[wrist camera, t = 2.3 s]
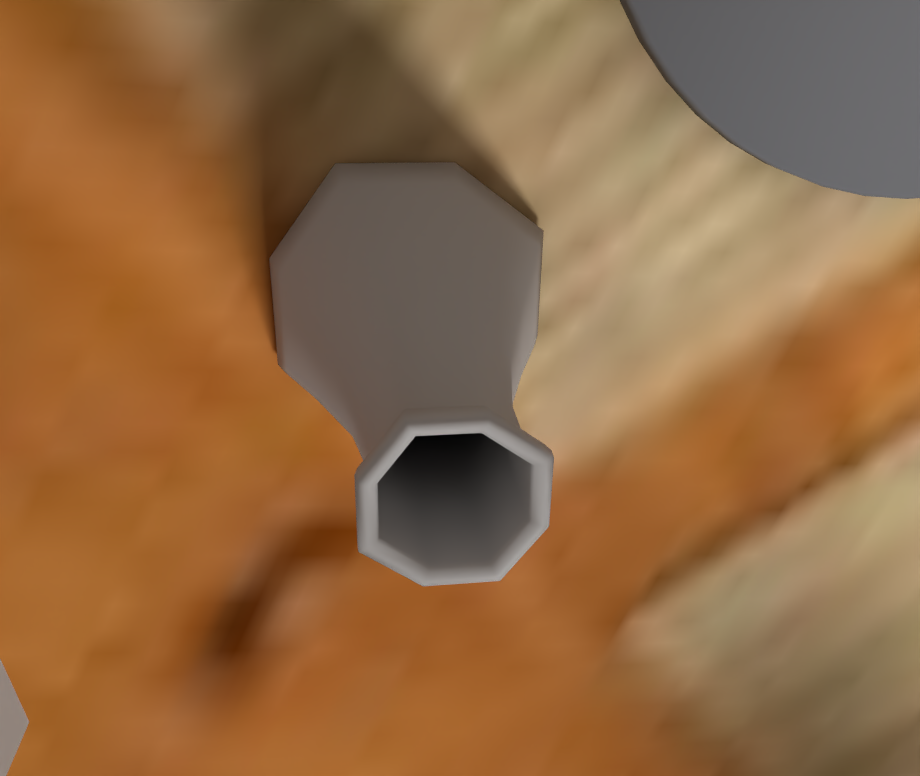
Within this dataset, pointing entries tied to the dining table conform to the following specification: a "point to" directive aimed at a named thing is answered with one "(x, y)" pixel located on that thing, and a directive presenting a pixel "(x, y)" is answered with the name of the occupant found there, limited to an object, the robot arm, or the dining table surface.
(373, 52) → the dining table surface
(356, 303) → the flask
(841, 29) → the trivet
